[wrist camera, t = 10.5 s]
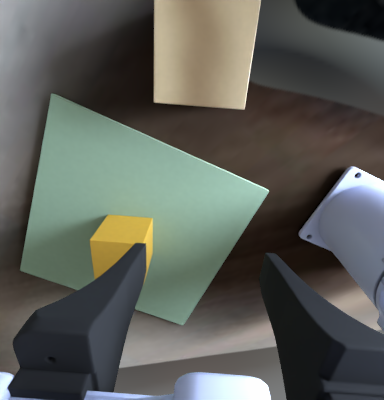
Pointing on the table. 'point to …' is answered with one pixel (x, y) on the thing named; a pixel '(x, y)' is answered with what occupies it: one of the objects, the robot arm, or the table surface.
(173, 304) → the sage mat
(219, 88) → the birch block
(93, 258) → the mustard cube
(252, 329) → the table surface
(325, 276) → the table surface
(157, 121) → the table surface
